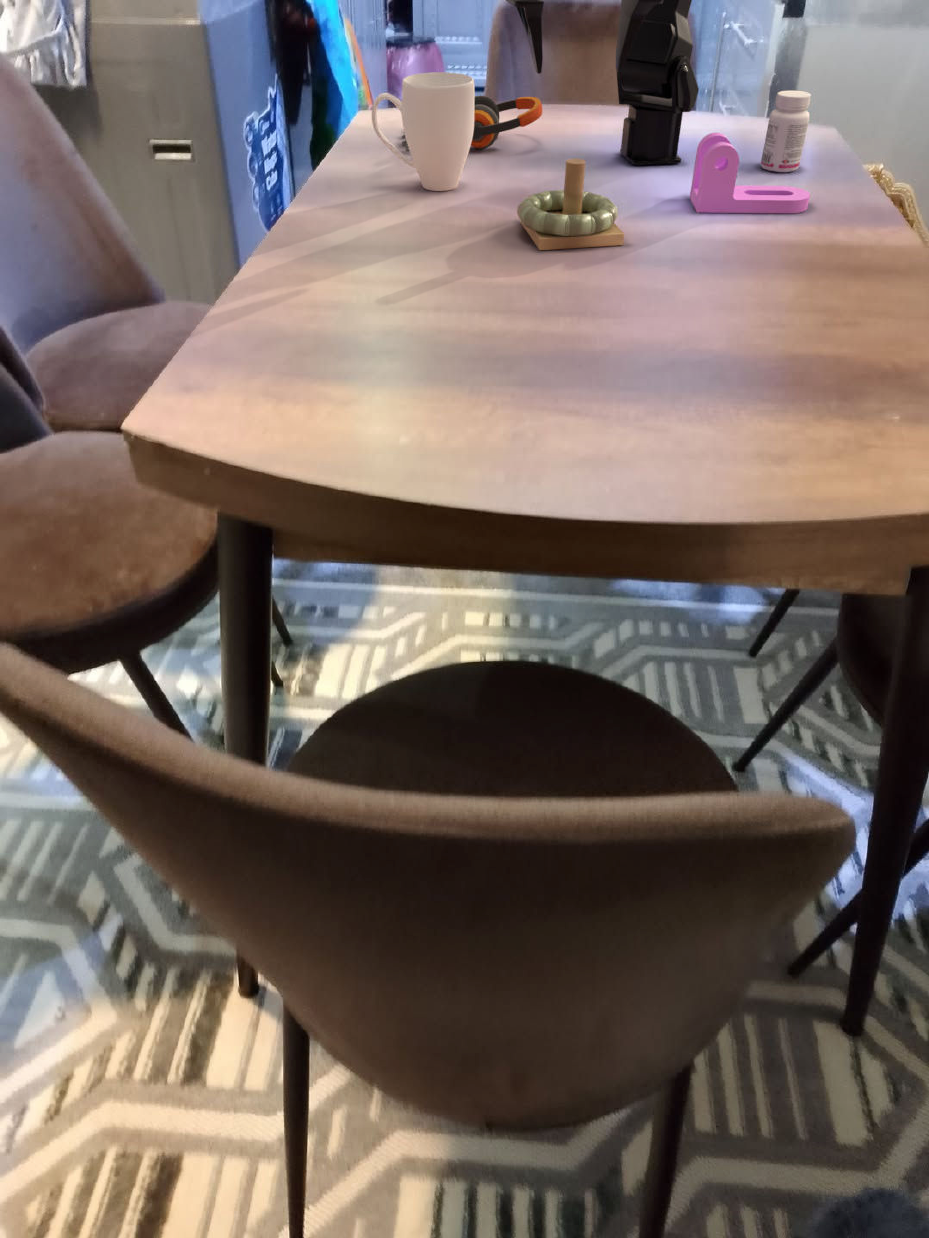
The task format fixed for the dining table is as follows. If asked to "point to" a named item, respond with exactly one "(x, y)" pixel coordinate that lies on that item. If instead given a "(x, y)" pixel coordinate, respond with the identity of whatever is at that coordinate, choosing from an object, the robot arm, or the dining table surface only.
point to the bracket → (723, 196)
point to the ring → (566, 225)
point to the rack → (574, 207)
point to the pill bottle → (786, 132)
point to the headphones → (489, 118)
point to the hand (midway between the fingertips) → (578, 71)
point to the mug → (434, 125)
